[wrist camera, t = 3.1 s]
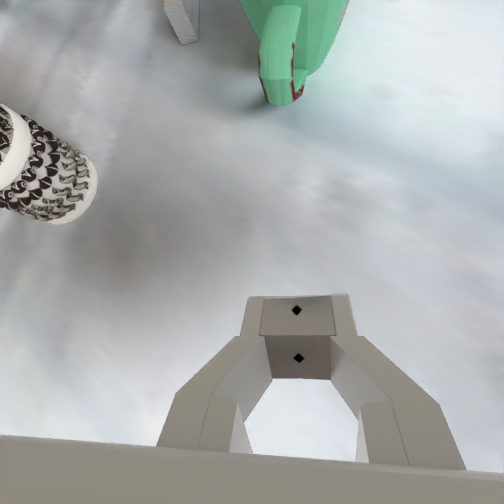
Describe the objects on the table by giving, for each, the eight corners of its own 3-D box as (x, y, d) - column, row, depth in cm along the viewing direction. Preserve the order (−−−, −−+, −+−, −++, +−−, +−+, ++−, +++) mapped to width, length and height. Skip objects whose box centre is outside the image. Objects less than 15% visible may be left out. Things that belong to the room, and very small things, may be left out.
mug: (259, 19, 31) (234, -113, 21) (356, 11, 28) (377, -141, 19) (237, 144, 28) (197, 60, 19) (341, 147, 26) (356, 52, 16)
